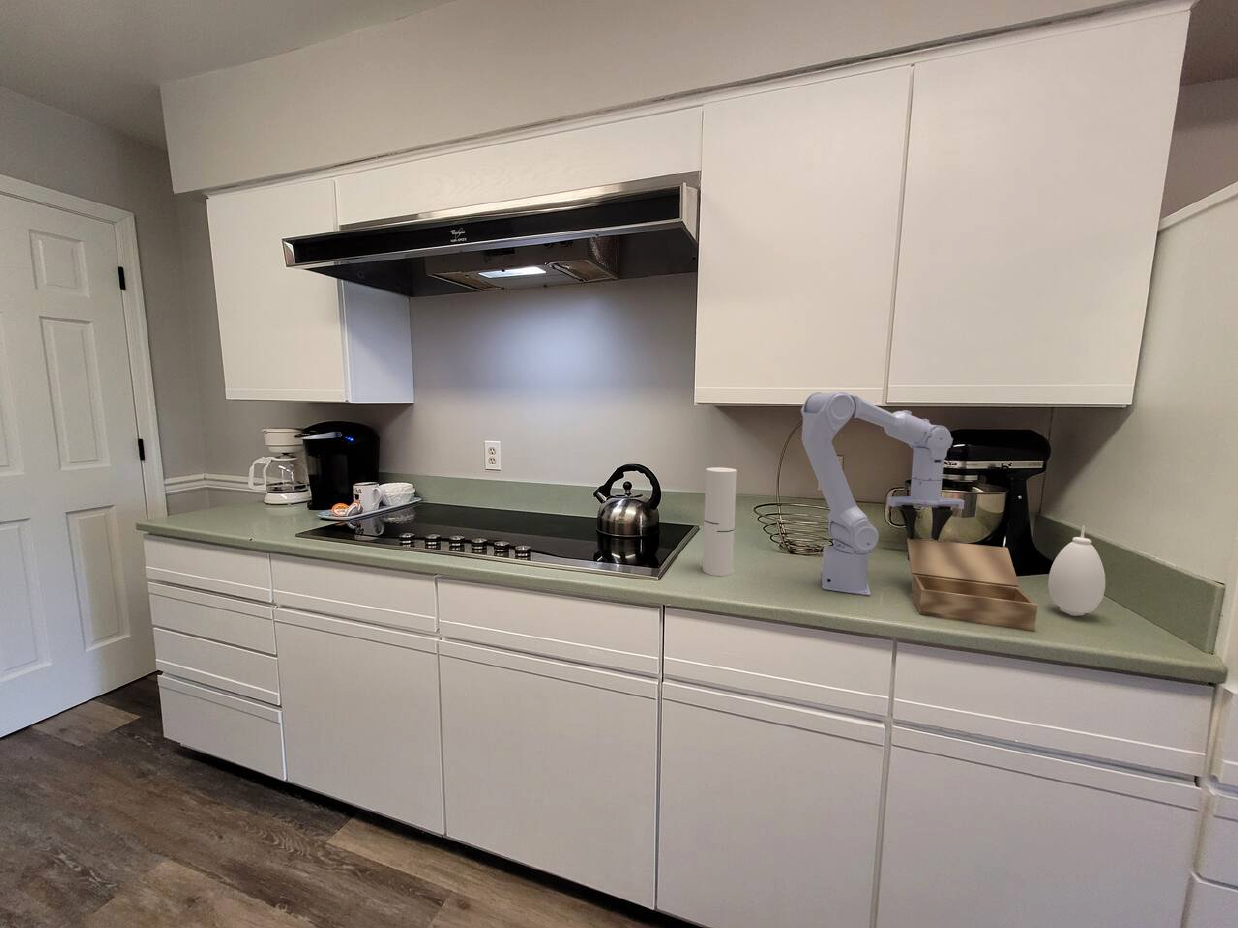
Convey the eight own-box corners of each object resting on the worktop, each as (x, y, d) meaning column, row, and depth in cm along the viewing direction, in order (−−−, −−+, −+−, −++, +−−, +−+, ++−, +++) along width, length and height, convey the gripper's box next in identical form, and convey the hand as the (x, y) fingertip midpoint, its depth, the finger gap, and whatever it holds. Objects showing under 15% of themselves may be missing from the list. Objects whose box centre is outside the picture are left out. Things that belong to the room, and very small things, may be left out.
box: (919, 614, 94) (921, 590, 94) (911, 597, 103) (913, 574, 102) (1034, 631, 88) (1037, 605, 87) (1015, 611, 96) (1018, 587, 95)
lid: (907, 537, 109) (907, 540, 109) (911, 572, 102) (911, 574, 103) (1007, 547, 102) (1006, 549, 103) (1019, 585, 96) (1017, 587, 96)
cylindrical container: (708, 564, 123) (711, 466, 119) (736, 569, 119) (740, 468, 116) (698, 572, 117) (701, 470, 113) (727, 578, 113) (731, 472, 110)
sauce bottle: (1068, 604, 100) (1079, 519, 97) (1111, 621, 92) (1124, 529, 90) (1034, 606, 99) (1045, 520, 96) (1075, 624, 91) (1088, 531, 88)
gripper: (896, 480, 105) (892, 541, 106) (972, 482, 101) (967, 545, 103) (886, 476, 112) (883, 533, 113) (957, 477, 108) (953, 536, 110)
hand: (922, 538), depth 109 cm, fingers open, 4 cm apart
